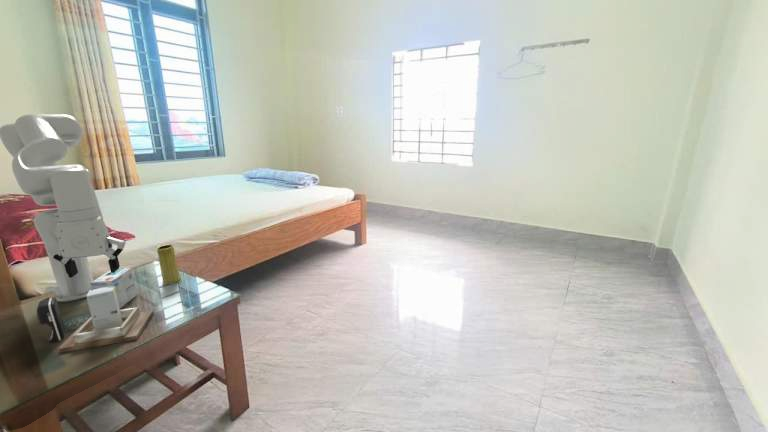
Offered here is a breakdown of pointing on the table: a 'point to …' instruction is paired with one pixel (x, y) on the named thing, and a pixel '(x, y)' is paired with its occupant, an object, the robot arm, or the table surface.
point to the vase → (168, 264)
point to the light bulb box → (118, 284)
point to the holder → (108, 331)
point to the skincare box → (104, 308)
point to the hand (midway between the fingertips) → (94, 273)
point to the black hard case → (51, 318)
